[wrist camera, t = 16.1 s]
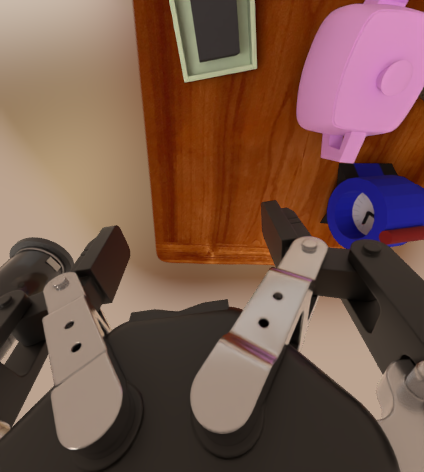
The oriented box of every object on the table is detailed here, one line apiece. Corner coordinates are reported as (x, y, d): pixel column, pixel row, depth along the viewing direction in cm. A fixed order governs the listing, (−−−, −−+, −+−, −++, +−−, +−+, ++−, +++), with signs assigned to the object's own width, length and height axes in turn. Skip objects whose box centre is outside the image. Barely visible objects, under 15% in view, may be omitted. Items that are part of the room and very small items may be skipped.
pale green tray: (185, 82, 32) (184, 82, 30) (154, -86, 24) (150, -101, 22) (253, 69, 31) (257, 68, 29) (246, -107, 23) (250, -125, 21)
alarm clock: (335, 163, 40) (397, 201, 27) (402, 163, 40) (492, 200, 28) (316, 222, 47) (358, 274, 34) (373, 222, 47) (435, 272, 35)
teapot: (346, 151, 39) (401, 178, 28) (276, 145, 37) (305, 171, 27) (417, -19, 27) (552, -80, 17) (319, -35, 26) (398, -111, 16)
